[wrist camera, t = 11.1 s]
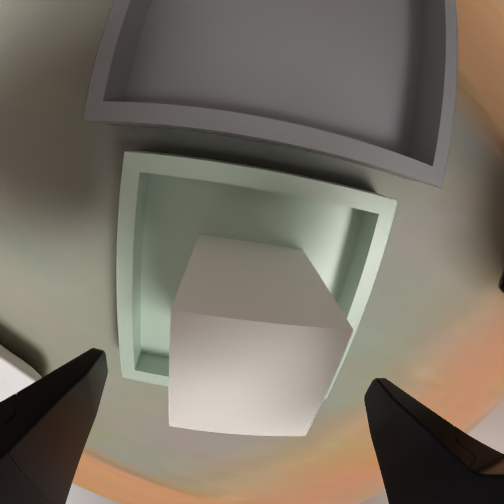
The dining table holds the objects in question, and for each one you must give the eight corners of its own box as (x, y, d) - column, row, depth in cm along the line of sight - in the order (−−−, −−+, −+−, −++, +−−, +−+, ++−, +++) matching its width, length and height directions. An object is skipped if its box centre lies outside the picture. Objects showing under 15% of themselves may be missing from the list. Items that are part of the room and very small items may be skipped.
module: (302, 249, 15) (353, 329, 8) (280, 334, 16) (305, 435, 10) (199, 234, 14) (171, 309, 7) (190, 323, 16) (169, 425, 9)
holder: (377, 193, 14) (397, 200, 12) (318, 376, 18) (326, 399, 16) (140, 150, 13) (124, 151, 11) (131, 354, 17) (122, 376, 15)
